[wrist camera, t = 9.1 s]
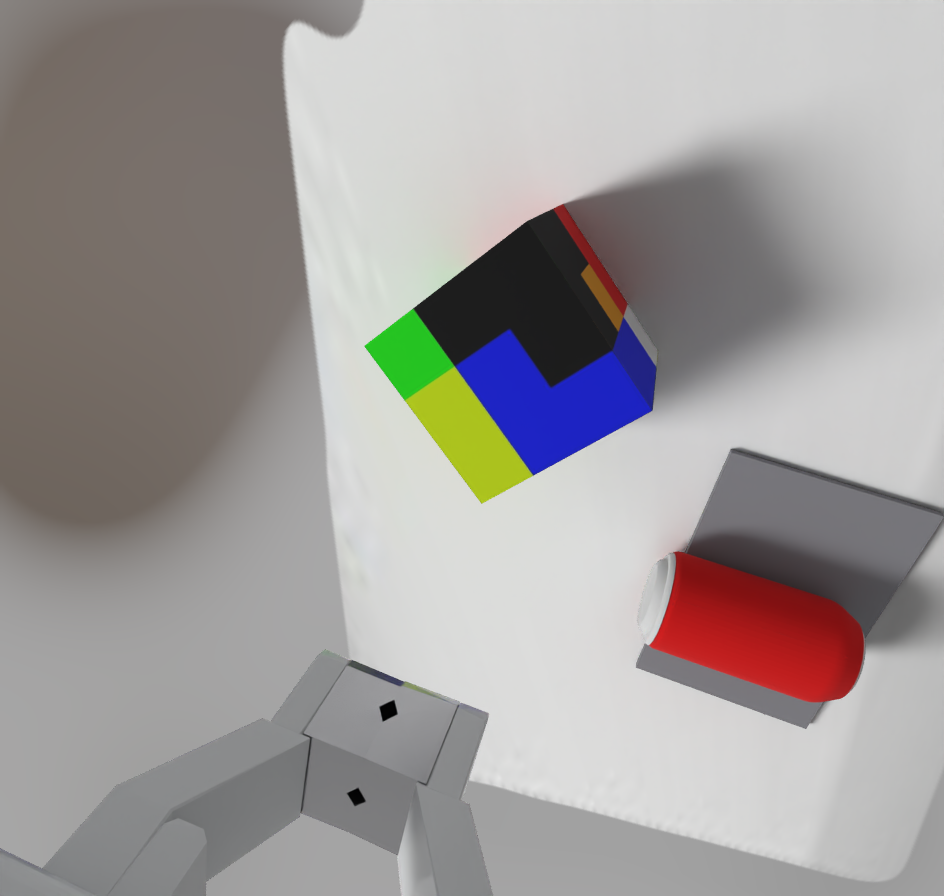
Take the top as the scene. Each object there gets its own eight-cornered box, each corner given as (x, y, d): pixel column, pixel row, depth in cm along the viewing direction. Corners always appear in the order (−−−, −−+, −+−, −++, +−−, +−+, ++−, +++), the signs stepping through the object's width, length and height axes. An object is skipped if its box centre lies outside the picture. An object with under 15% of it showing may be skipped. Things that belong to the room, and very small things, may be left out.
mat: (730, 449, 39) (731, 452, 39) (941, 512, 37) (944, 516, 37) (636, 662, 48) (636, 667, 47) (804, 723, 46) (805, 728, 45)
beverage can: (651, 619, 37) (875, 695, 35) (669, 528, 40) (873, 592, 38) (626, 656, 41) (821, 724, 39) (644, 571, 45) (823, 630, 43)
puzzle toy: (658, 350, 38) (652, 410, 29) (521, 431, 43) (481, 503, 34) (563, 203, 36) (527, 221, 28) (431, 304, 41) (364, 346, 32)
